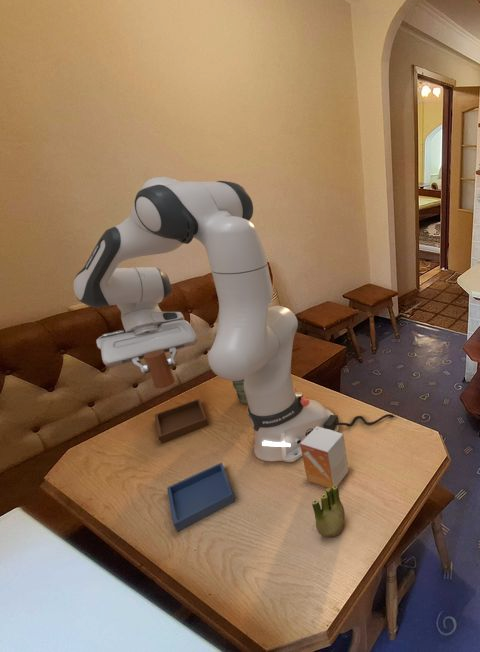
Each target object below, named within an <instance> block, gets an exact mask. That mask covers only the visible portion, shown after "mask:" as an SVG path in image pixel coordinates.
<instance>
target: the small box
mask: <svg viewBox="0 0 480 652" xmlns="http://www.w3.org/2000/svg"><path fill="white" fill-rule="evenodd" d="M300 446H301V451H302V456H301V457H302V461H303V465H304V470H305V474H306V481H307V482H309V483H313V484H316V485H319V486H321V487H324V488H326V489H327V488H331V487H332V486H334V485H338V486H339V485H340V483H341V482H342V481H343V479H344V478H345V477H346V475H347V474H348V472H349V470H350V469H349V463H348V457H347V456H348V455H347V451H346V450H347V449H346V444H345V436H344V433H341V432H339V431H338V432H335V431H332V430H329V429H325V428H321V427H318V426H317V427H316V428H315V429H314V430H313V431H312V432H311V433H310V434H309V435H308V436H307V437H306V438H305V439H304V440H303V441H302V442H301V443H300Z"/></svg>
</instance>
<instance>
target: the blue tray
mask: <svg viewBox="0 0 480 652" xmlns="http://www.w3.org/2000/svg"><path fill="white" fill-rule="evenodd" d="M166 489H167V494H168V499H169V505H170V512H171V518H172V523H173V527H174V528H175V531H176V532H177V533H178V532H180V531H182V530H183V529H185V528H187V527H189V526H192V525H193V524H195V523H197V522H199V521H200V520H202V519H204V518H207V517H208V516H211V515H212V514H214V513H216V512H218V511H219V510H221V509H223V508H225V507H227V506H229V505H231V504H232V503H234V502H236V499H235V495H234V493H233V490H232V487H231V485H230V482H229V478H228V476H227V473H226V470H225V467H224V465H223V462H222V461H221V462H220V463H218V464H215V465H213V466H211V467H208V468H207V469H205V470H202V471H199V472H198V473H196V474H193V475H191V476H189V477H187V478H185V479H183V480H180V481H178V482H176V483H173V484H172V485H170V486H168V487H166Z"/></svg>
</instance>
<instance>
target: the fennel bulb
mask: <svg viewBox="0 0 480 652" xmlns="http://www.w3.org/2000/svg"><path fill="white" fill-rule="evenodd" d="M320 503H321V505H320ZM311 506H312V508H313V512H314V517H315V527H316V530H317V533H318V535H320V536H322V537H325V538H326V537H328V538H333V537H336V536H338V535H339V534H340V533H342V531H343V530H344V528H345V521H346V515H345V508H344V505H343V503H342V501H341V498H340V491H339V484H338V485H334V486H332V487H331V488H327V487H326V488H325V492H324V493H322V494H321V497H320V502H319V500H318V499H317V498H314V499H313V500H312V502H311Z"/></svg>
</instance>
